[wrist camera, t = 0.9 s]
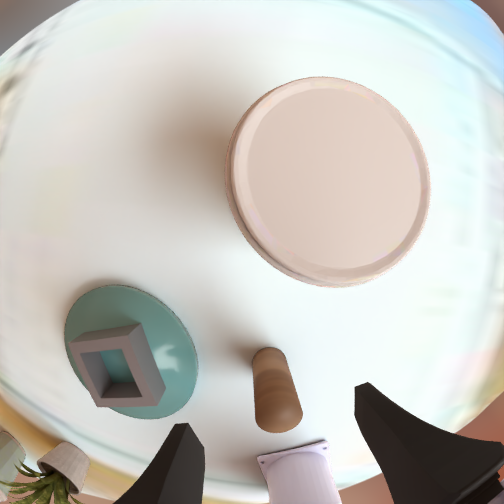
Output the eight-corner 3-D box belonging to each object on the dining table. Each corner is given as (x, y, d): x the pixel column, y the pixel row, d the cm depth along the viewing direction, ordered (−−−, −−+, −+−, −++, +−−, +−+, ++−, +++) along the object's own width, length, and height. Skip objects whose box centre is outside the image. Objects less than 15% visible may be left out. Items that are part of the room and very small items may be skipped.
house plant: (30, 440, 23) (-16, 490, 7) (33, 396, 23) (-35, 455, 6) (101, 490, 24) (69, 554, 8) (119, 459, 24) (76, 546, 7)
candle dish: (217, 407, 23) (213, 433, 19) (101, 414, 23) (87, 433, 19) (171, 269, 22) (156, 277, 18) (53, 298, 22) (29, 307, 18)
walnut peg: (288, 371, 23) (305, 426, 15) (256, 379, 23) (261, 436, 15) (282, 343, 23) (298, 394, 15) (248, 351, 23) (250, 405, 15)
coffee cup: (318, 278, 22) (387, 324, 10) (215, 228, 22) (179, 225, 10) (362, 180, 22) (453, 144, 10) (266, 129, 21) (284, 40, 9)
